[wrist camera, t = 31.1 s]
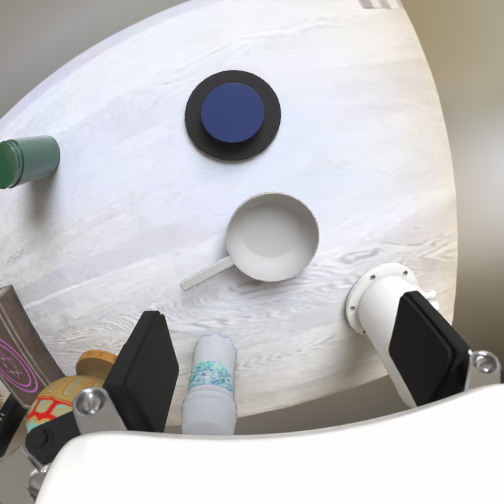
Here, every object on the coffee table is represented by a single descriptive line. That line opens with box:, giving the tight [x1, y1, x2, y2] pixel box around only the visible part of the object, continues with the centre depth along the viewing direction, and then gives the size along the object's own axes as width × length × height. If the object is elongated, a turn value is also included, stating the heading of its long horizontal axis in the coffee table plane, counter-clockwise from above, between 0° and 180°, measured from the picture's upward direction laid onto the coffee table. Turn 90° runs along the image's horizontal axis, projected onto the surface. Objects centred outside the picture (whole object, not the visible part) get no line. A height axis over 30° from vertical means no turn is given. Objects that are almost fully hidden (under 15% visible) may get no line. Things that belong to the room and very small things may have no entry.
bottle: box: [181, 333, 237, 435], centre depth 33 cm, size 7×7×20 cm
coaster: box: [185, 70, 281, 160], centre depth 30 cm, size 11×11×1 cm
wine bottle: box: [0, 394, 28, 458], centre depth 38 cm, size 6×6×30 cm
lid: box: [201, 83, 265, 143], centre depth 29 cm, size 7×7×2 cm
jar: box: [0, 136, 60, 189], centre depth 26 cm, size 6×6×9 cm
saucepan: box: [180, 192, 319, 291], centre depth 35 cm, size 11×18×4 cm, turn 119°
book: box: [0, 285, 65, 409], centre depth 42 cm, size 30×22×5 cm
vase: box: [26, 350, 118, 433], centre depth 32 cm, size 20×20×30 cm
